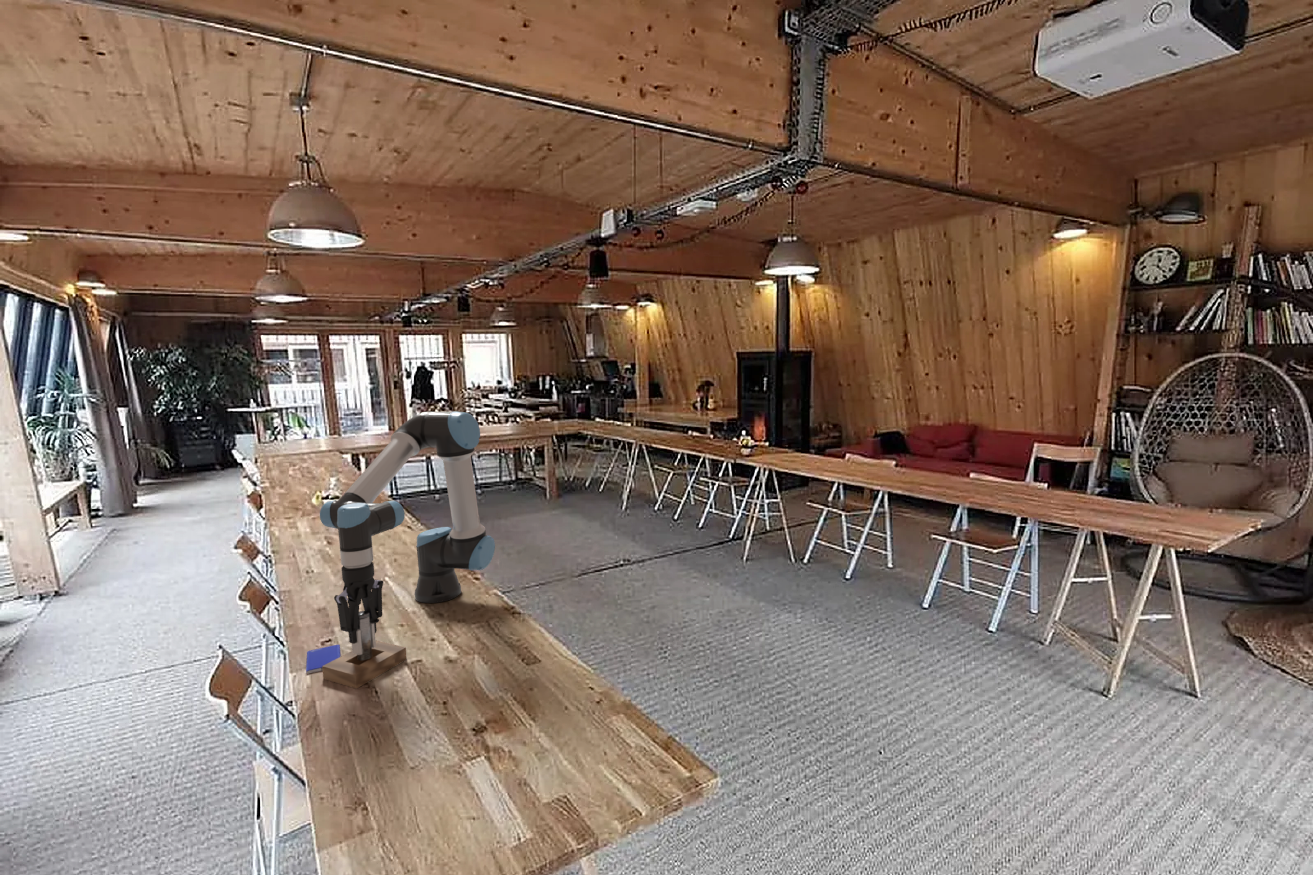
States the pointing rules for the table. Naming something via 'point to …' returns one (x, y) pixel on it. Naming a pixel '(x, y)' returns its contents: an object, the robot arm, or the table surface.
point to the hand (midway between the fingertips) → (364, 649)
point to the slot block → (364, 665)
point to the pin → (365, 635)
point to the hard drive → (321, 657)
